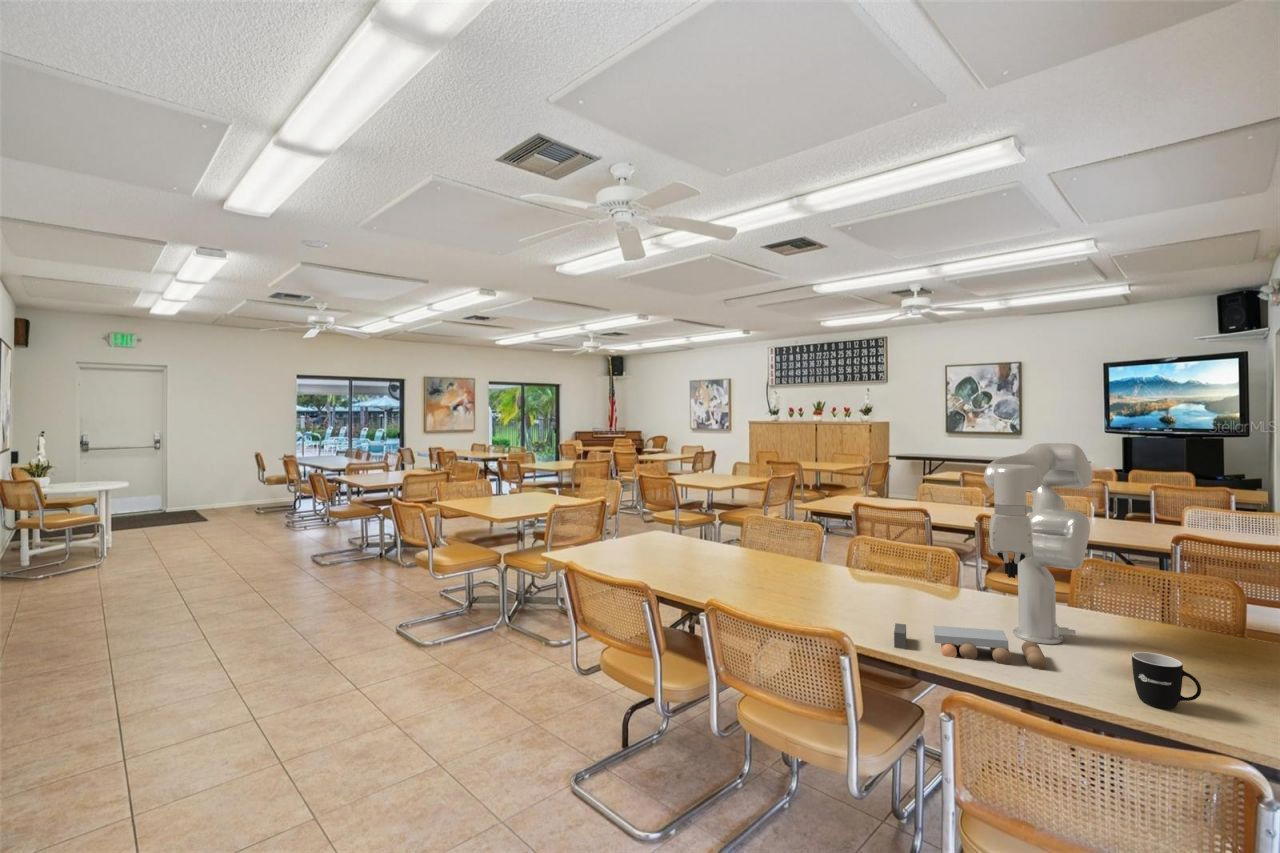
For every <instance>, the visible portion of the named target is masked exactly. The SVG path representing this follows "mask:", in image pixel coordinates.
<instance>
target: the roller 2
mask: <svg viewBox="0 0 1280 853" xmlns="http://www.w3.org/2000/svg"><path fill="white" fill-rule="evenodd" d="M957 646H958V651H959V655H960V656H961V658H963V659H965V660H973V661H974V660H976V659H977V657H978V649H977V646H973V645H971V644H968V643H966V644H963V645H957Z"/></svg>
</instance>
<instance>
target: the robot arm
mask: <svg viewBox="0 0 1280 853" xmlns="http://www.w3.org/2000/svg"><path fill="white" fill-rule="evenodd" d="M1093 478H1094V473H1093V470H1092V466H1091V465H1090V462H1089V460H1088V458H1087V455H1086V454H1085V452H1084V450H1083V449H1082V448H1081V447H1080V446H1079V445H1078V444H1075V443H1068V442H1067V443H1066V442H1065V443H1064V442H1063V443H1062V442H1061V443H1060V442H1059V443H1058V442H1056V443H1055V442H1054V443H1052V442H1050V443H1047V442H1043V443H1037V444H1034V445H1033V446H1031V447H1030V448H1029V449H1027V450H1026V451H1025V452H1022V453H1017V454H1012V455H1008V456H1003V457H999V458H996V459H994V460H993V461H991V462H989V464H988V465H987V466H986V468H985V470H984V473H983V480H984V483H985V484H986V486H987V487H988V488H989V489H992V490H994V491H993V494H994V496H993V500H994V502H993V503H994V504H993V505H994V514H991V516H990V520H989V528H988V529H989V530H988V532H989V533H988V534H989V535H988V544H989V548H988V553H989V555H992V556H996V557H998V558H1000V560H1002V562H1004V565H1003V566H1004V574H1006V575H1007V578H1008V579H1010V578H1012V579H1016V576H1017V593H1018V594H1017V598H1018V599H1017V600H1018V603H1017V604H1018V606H1017V608H1018V612H1017V613H1018V626H1017V627H1014V628H1013V629H1012V634H1013V636H1015V637H1016V638H1018V639H1021V640H1023V641H1025V642H1026V641H1033V642H1035V643H1037V644H1045V645H1056V644H1060V643H1062V642H1063V640H1064V639H1063V636H1068V637H1074V638H1075V637H1076V632H1077V631H1076V630H1075V629H1069V627H1063V626H1061V627H1060V626H1059V625H1058V623H1057V608H1056V605H1057V604H1056V603H1057V601H1056V600H1057V599H1056V581H1055V578H1054V576H1053V574H1052V573H1051V571H1049V569H1048V568H1047V567H1051V568H1057V569H1065V570H1077V569H1080V568H1081V567H1082V566H1083V563H1084V560H1085V557H1086V553H1087V552H1086V551H1087V548H1088V543H1089V538H1090V533H1091V524H1090V520H1089V518H1088V516H1087V515H1086V514H1085V513H1083V512H1081V511H1077V510H1066V502H1065V500H1064V499H1063V498H1062V496H1061V495H1060V494H1059V493H1058V492H1057V491H1056V490H1054V489H1053V488H1070V489H1085V488H1088V487H1090V486H1091V484H1092V482H1093ZM1027 492H1030V493H1031V495H1032V500H1033V501H1032V505H1031V507H1030V506H1027ZM1028 514H1029V515H1028ZM1008 553H1013V556H1012V559H1011V560H1010V559H1009V554H1008Z"/></svg>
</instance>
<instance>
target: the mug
mask: <svg viewBox="0 0 1280 853" xmlns="http://www.w3.org/2000/svg"><path fill="white" fill-rule="evenodd" d="M1131 666H1132V674H1133V675H1132V676H1133V680H1134V687H1135V691H1136V694H1137V696H1138V698H1139V699H1140V701H1142V702H1143V703H1144V704H1147V705H1149V706H1153V707H1155V708H1160V709H1174V708H1176V707H1177V706H1178V704H1179V703H1180V702H1190V701H1194V700H1196V699H1198V698H1199V697H1200V696H1201V693H1202V687H1201V686H1202V685H1201V684H1200V682H1199V681H1198V679H1197V678H1196V677H1195V676H1193V675H1192V674H1191V673H1189V672H1187V671H1185V670H1184V667H1183V666H1184V665H1183V662H1181V661H1180V660H1178V659H1176V658H1174V657H1171V656H1168V655H1165V654H1162V653H1161V654H1160V653H1156V652H1147V651H1138V652H1134V653H1132V655H1131ZM1184 677H1187V678H1189V679H1190V680H1192V681H1193V682H1194V684H1195V686H1196V692H1195V694H1194V695H1191V696H1183V695H1182V688H1183V678H1184Z"/></svg>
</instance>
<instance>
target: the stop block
mask: <svg viewBox="0 0 1280 853" xmlns="http://www.w3.org/2000/svg"><path fill="white" fill-rule="evenodd" d="M893 640H894V641H893V642H894V643H893V644H894V648H895V649H899V650H900V649H902V650H906V649H907V624H906V623H897V622H896V623H895V624H894V630H893Z"/></svg>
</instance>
